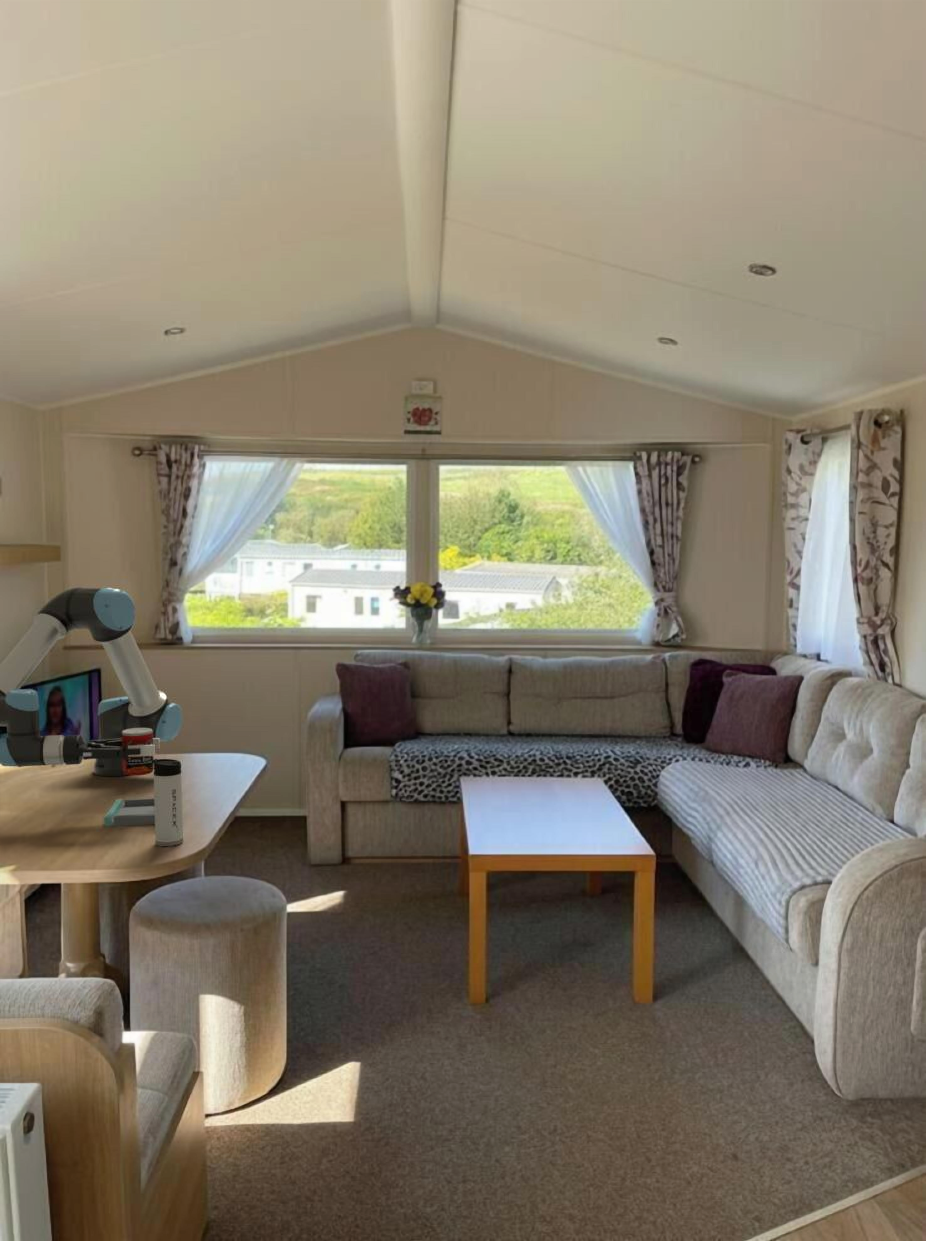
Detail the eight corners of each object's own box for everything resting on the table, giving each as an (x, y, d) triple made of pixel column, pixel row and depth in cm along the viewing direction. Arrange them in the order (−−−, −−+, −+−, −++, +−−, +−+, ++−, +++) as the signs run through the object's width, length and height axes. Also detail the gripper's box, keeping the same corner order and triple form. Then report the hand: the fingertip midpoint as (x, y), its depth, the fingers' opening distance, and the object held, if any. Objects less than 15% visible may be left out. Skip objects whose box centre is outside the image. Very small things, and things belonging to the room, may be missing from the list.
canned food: (125, 777, 244) (124, 734, 243) (120, 770, 251) (119, 729, 251) (156, 773, 248) (155, 731, 247) (151, 767, 255) (150, 726, 254)
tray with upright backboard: (117, 807, 258) (116, 770, 257) (174, 804, 261) (174, 768, 260) (104, 826, 240) (103, 787, 240) (166, 823, 243) (165, 784, 242)
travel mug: (157, 839, 230) (155, 757, 228) (185, 838, 230) (183, 756, 229) (151, 847, 224) (148, 762, 222) (180, 846, 224) (178, 762, 223)
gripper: (74, 755, 257) (162, 752, 260) (55, 774, 236) (151, 770, 240) (73, 728, 256) (162, 725, 260) (54, 743, 236) (150, 740, 239)
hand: (156, 746), depth 250 cm, fingers closed on canned food, 8 cm apart
